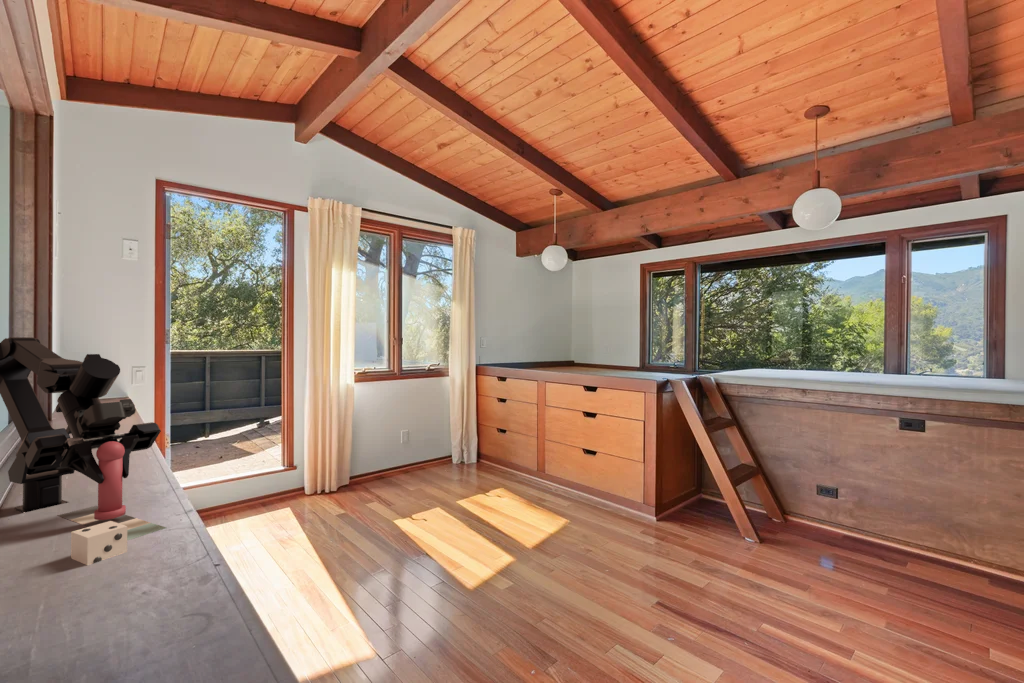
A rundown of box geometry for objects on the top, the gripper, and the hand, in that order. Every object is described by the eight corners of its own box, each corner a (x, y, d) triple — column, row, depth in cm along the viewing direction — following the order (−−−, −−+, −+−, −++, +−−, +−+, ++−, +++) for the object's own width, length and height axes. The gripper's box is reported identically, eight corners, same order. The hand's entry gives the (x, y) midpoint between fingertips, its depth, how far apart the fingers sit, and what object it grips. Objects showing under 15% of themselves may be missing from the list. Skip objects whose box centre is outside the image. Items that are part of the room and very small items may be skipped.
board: (54, 521, 89) (54, 516, 89) (98, 510, 95) (98, 505, 95) (124, 547, 78) (124, 541, 78) (169, 532, 84) (169, 526, 84)
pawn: (89, 517, 86) (89, 442, 86) (118, 509, 90) (118, 438, 90) (101, 521, 84) (102, 444, 84) (130, 513, 88) (131, 440, 88)
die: (71, 564, 72) (71, 531, 72) (110, 551, 76) (110, 520, 76) (87, 571, 70) (87, 537, 70) (127, 558, 74) (127, 525, 74)
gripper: (33, 390, 80) (63, 463, 75) (156, 382, 97) (187, 441, 92) (12, 432, 84) (40, 505, 79) (135, 418, 100) (164, 476, 95)
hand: (114, 479), depth 86 cm, fingers closed on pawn, 3 cm apart
